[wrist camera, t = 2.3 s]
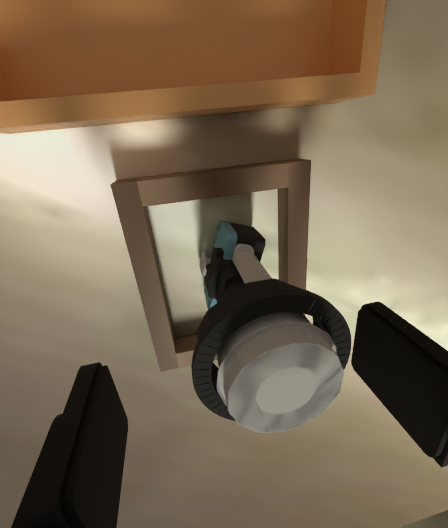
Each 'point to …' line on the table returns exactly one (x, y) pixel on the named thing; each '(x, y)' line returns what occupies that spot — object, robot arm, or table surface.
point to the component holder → (199, 187)
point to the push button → (264, 340)
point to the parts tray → (179, 58)
